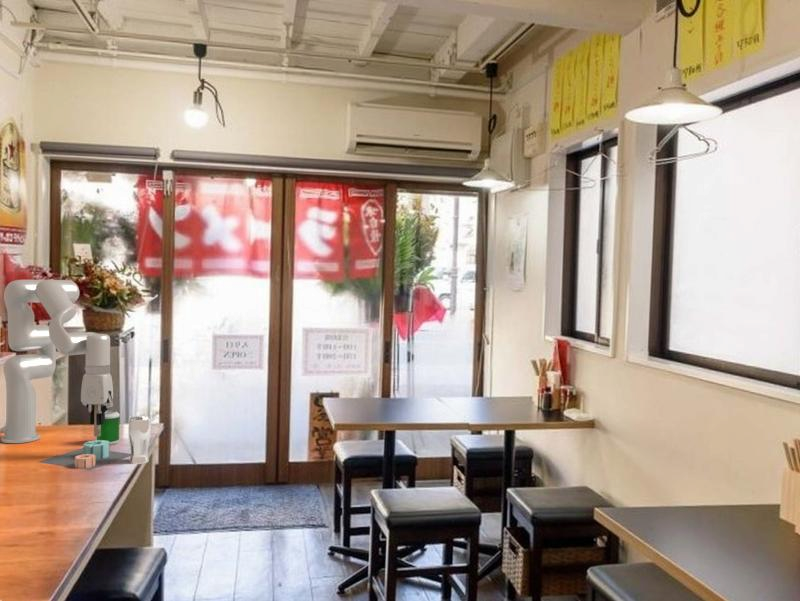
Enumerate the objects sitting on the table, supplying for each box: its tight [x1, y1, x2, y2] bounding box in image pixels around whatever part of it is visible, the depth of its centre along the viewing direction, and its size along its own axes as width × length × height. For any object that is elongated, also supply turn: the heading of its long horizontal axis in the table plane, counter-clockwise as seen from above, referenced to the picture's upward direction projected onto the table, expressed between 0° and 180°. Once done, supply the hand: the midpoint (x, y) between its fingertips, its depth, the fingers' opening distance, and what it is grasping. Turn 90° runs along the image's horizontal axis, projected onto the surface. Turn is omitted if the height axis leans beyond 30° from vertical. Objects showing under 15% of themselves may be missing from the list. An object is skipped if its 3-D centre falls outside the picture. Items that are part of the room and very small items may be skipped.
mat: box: [37, 447, 131, 471], centre depth 217 cm, size 22×20×1 cm
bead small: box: [75, 454, 96, 469], centre depth 208 cm, size 6×6×3 cm
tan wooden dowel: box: [93, 405, 101, 438], centre depth 219 cm, size 2×2×12 cm
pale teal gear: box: [82, 439, 111, 459], centre depth 219 cm, size 8×8×4 cm
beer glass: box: [128, 415, 152, 465], centre depth 215 cm, size 7×7×15 cm
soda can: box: [96, 409, 121, 446], centre depth 236 cm, size 8×8×12 cm
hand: (97, 423), depth 219 cm, fingers closed on tan wooden dowel, 2 cm apart
